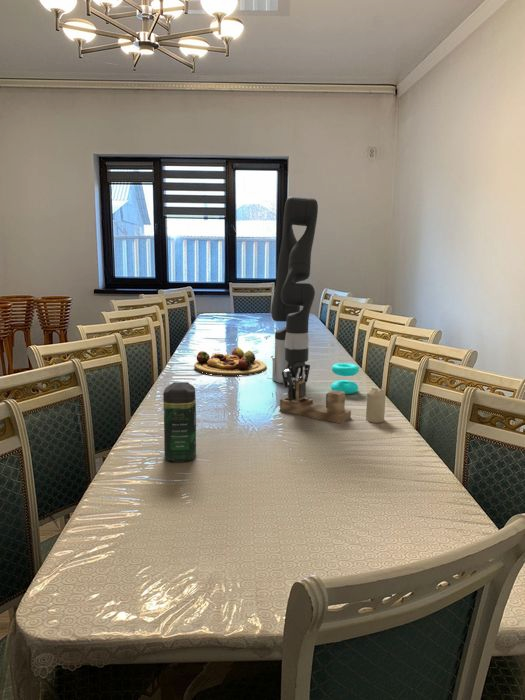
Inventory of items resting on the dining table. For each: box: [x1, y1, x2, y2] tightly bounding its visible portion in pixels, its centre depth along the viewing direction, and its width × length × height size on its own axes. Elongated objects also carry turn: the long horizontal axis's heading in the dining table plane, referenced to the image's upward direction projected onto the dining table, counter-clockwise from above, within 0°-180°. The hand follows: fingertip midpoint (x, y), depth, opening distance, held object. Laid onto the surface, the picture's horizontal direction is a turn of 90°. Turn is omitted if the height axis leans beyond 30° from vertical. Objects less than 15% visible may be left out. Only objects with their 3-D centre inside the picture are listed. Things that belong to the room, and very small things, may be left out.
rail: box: [279, 389, 352, 424], centre depth 164 cm, size 22×7×8 cm, turn 54°
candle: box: [365, 387, 386, 424], centre depth 158 cm, size 6×6×10 cm
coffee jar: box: [162, 381, 197, 463], centre depth 129 cm, size 10×8×19 cm
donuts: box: [330, 362, 360, 395], centre depth 191 cm, size 10×10×10 cm
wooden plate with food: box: [193, 346, 268, 377], centre depth 229 cm, size 32×32×8 cm
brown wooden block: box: [287, 379, 307, 401], centre depth 167 cm, size 5×4×6 cm
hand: (295, 397), depth 168 cm, fingers closed on brown wooden block, 4 cm apart
